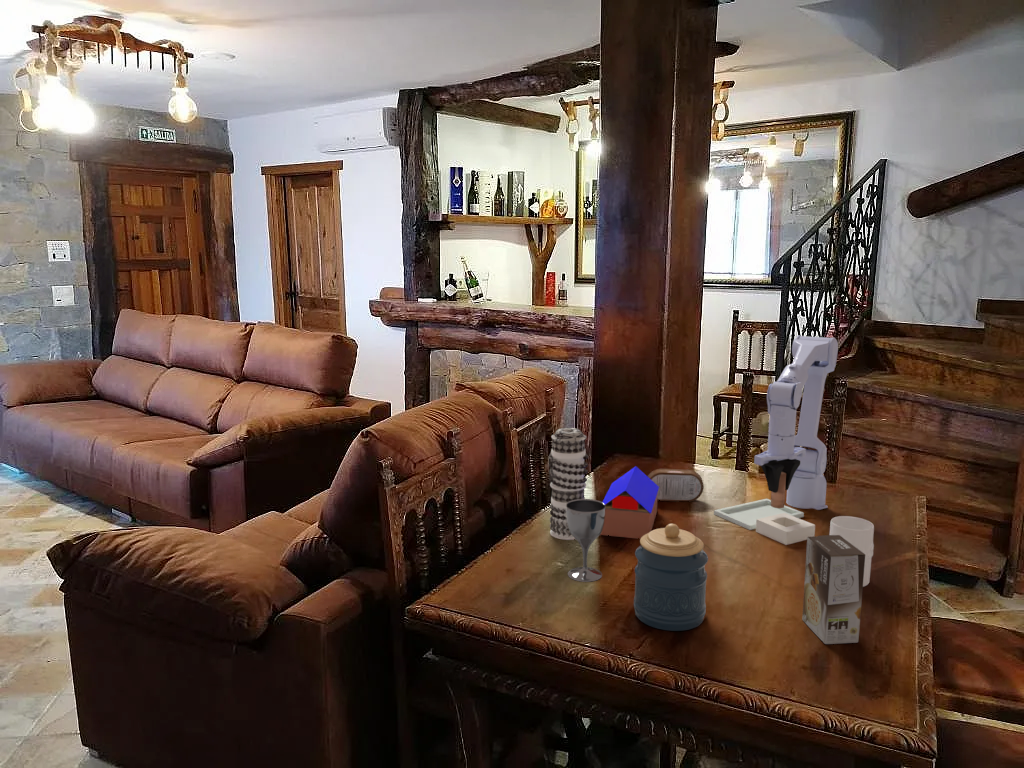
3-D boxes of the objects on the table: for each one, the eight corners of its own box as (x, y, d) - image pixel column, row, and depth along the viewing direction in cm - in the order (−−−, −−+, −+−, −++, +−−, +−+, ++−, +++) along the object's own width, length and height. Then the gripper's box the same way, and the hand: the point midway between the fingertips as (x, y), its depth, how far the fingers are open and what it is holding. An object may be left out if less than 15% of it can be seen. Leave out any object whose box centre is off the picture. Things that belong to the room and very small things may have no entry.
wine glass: (607, 569, 160) (609, 501, 157) (599, 585, 152) (600, 513, 149) (571, 564, 162) (571, 497, 159) (561, 579, 155) (561, 509, 152)
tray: (766, 505, 197) (766, 498, 197) (803, 520, 187) (804, 512, 186) (713, 517, 189) (713, 510, 188) (749, 533, 178) (749, 525, 178)
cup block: (783, 528, 181) (784, 512, 181) (814, 541, 174) (815, 524, 173) (755, 535, 177) (756, 519, 177) (785, 549, 169) (786, 532, 169)
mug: (861, 564, 161) (866, 511, 159) (874, 589, 150) (879, 531, 147) (820, 561, 163) (824, 508, 161) (830, 585, 151) (834, 528, 149)
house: (658, 511, 194) (659, 467, 192) (650, 541, 175) (651, 492, 173) (611, 507, 197) (612, 464, 195) (598, 535, 178) (599, 488, 176)
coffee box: (860, 643, 130) (868, 554, 127) (824, 645, 129) (831, 556, 126) (833, 617, 139) (840, 534, 136) (799, 619, 138) (805, 535, 135)
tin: (702, 499, 203) (703, 469, 201) (703, 503, 200) (705, 472, 198) (644, 497, 204) (645, 467, 203) (645, 501, 201) (646, 471, 199)
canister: (719, 626, 136) (723, 533, 132) (653, 637, 132) (656, 541, 129) (683, 594, 148) (686, 508, 145) (621, 604, 144) (623, 515, 141)
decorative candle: (565, 522, 186) (566, 423, 181) (595, 533, 179) (596, 430, 175) (540, 533, 180) (540, 430, 175) (569, 543, 173) (570, 437, 169)
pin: (777, 502, 180) (778, 470, 179) (787, 506, 178) (789, 473, 176) (767, 505, 179) (769, 472, 177) (777, 509, 176) (779, 475, 175)
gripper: (772, 441, 168) (769, 500, 171) (817, 433, 175) (813, 489, 178) (748, 434, 174) (745, 491, 177) (793, 426, 181) (789, 481, 184)
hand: (778, 490), depth 178 cm, fingers closed on pin, 3 cm apart
